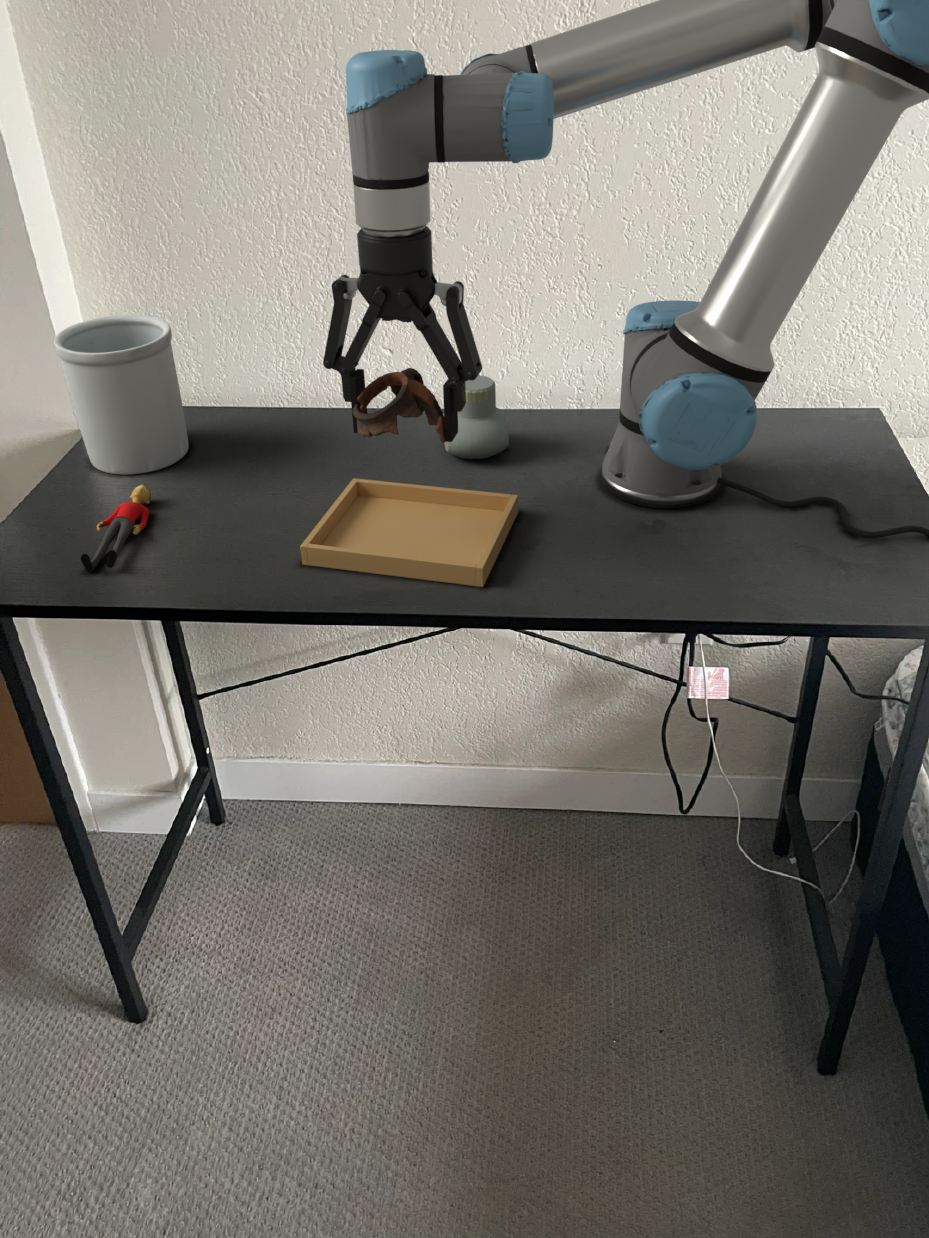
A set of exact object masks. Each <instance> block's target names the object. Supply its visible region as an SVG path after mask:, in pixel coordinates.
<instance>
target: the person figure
mask: <svg viewBox="0 0 929 1238" xmlns="http://www.w3.org/2000/svg"><path fill="white" fill-rule="evenodd" d="M151 497H152V493H151V490H150V487H148V486H147V485H145V484H140V485H138V486H136V487H135V488H134V489H133V490H132V492H131V494H130V496H129V498H130V499H131V501H126V502H123V503H120V504H119V505H118V506H117V507H116V508H115V510H113V512H112V514H110V515H109V517H107V518H106V519H104V520H101V521H99V522H98V523H97V525H96V530H97V531H98V532H100V531H101V529H100V528H104V527H107V526H108V527H107V529H106V530H105V533H104V534H103V538H102V540H101V541H100V544H99V546H98V548H97V549H96V552H95V553H94V555H93V557H92V558H90V555H88V554H87V553H82V554H81V556H80V562H81V564H82V566H83V567H84V570H85V571H86V572H87V573H89V574H90V573H93V572H94V571H95V569H96V568H97V566H98V565H99V563H100V562H101V560H102V559H103V557H104V556H105V555H106V553H107V562H106V567H107V568H109V569H112V568H113V567H114V566H115V563H116V562H117V559H118V557H119V555H120V553H121V551H122V549H123V546H124V545H125V542H126V540H127V539H128V537H129V535H130V534H131V532H132V533H133V535H135V536H136V535H138V534H140V532H141V531H143V530H145V528H146V526H147V523H148V519H149V515H150V510H149V508H148V507H146V506H147V505H148V504H150V501H151ZM138 519H140V523H139V524H135V522H136V520H138ZM133 528H134V529H133ZM132 530H133V531H132ZM116 537H117V538H116ZM115 538H116V540H115V543H114V544H113V547H112V549H110V550H109V551H108V549H109V546H110V544H111V543H112V542H113V540H114V539H115ZM107 551H108V552H107Z"/></svg>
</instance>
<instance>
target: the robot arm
mask: <svg viewBox="0 0 929 1238" xmlns="http://www.w3.org/2000/svg"><path fill="white" fill-rule="evenodd" d="M783 47H788V48H790V49H791V50H793V51H794V52H795V53H803V52H805V51H808V50H812V49H815V52H816V58H817V61H818V65H819V66H818V73H817V76H816V78H815V80H814V81H813V83H812V84H811V87H810V89H809V91H808V93H807V95H806V97H805V98H804V101H803V103H802V105H801V106H800V109H799V111H798V112H797V114H796V116H795V118H794V120H793V122H792V124H791V126H790V128H789V130H788V132H787V134H786V136H785V138H784V140H783V141H782V143H781V144H780V145H781V146H780V147H779V149H778V151H777V153H776V154H775V157H774V158H773V161H772V163H771V164H770V167H769V169H768V170H767V172H766V174H765V176H764V178H763V180H762V182H761V184H760V186H759V188H758V190H757V191H756V193H755V196H754V198H753V199H752V201H751V203H750V205H749V207H748V209H747V211H746V213H745V215H744V217H743V219H742V221H741V223H740V224H739V227H738V228H737V230H736V232H735V234H734V236H733V238H732V240H731V242H730V244H729V245H728V247H727V250H726V252H725V254H724V256H722V257H723V258H722V260H721V261H720V263H719V265H718V267H717V269H716V270H715V273H714V275H713V276H712V279H711V281H709V284H708V286H707V288H706V290H705V292H704V293H703V296H702V298H701V300H700V301H695V300H681V299H679V300H674V299H673V300H656V301H655V300H654V301H647V302H643V303H639V304H637V305H634V306H633V307H631V308H630V309H629V310H628V311H627V314H626V318H625V324H624V329H623V331H622V334H623V335H624V338H623V339H624V340H623V357H622V369H621V371H622V372H621V385H620V386H621V387H620V399H619V416H618V417H619V418H618V424H617V427H616V430H615V432H614V435H613V437H612V439H611V441H610V444H608V445H607V446H606V448H605V451H604V455H605V456H604V459H603V462H602V464H601V475H600V476H601V477H600V479H601V480H600V481H601V484H602V486H603V488H604V489H605V490H606V491H607V492H608V493H610V494H611V495H612V496H613V497H615V498H617V499H620V500H621V501H624V502H626V503H629V504H633V505H637V506H641V507H646V508H655V509H680V508H687V507H691V506H696V505H699V504H702V503H705V502H707V501H709V500H710V499H711V498H713V497H715V496H716V495H717V493H718V492H719V490H720V488H721V485H723V486H725V487H728V488H731V489H734V490H737V491H739V492H743V493H745V494H748V495H751V496H753V497H755V498H758V499H759V500H761V501H764V502H766V503H769V504H771V505H774V506H778V507H782V508H783V507H784V508H798V507H803V506H804V507H805V506H807V505H812V504H817V503H823V504H828V505H831V506H833V507H835V508H836V509H838V511H839V515H840V521H841V524H842V526H843V528H844V529H846V531H847V532H848V533H850V534H852V535H854V536H856V537H860V538H866V539H879V538H886V537H891V536H896V535H900V534H907V533H919V534H920V535H921V534H922V535H924V536H925V537H927V538H928V539H929V528H927V527H923V526H921V525H904V526H898V527H894V528H890V529H889V528H888V529H884V530H877V531H876V530H875V531H870V530H869V531H868V530H863V529H859V528H857V527H855V526H853V525H852V524H851V523H850V521H849V518H848V512H847V509H846V507H845V506H844V505H845V504H843V503H842V502H841V501H839V500H837V499H835V498H832V497H829V496H821V495H820V496H812V497H806V498H803V499H799V500H782V499H778V498H775V497H772V496H770V495H768V494H765V493H763V492H761V491H759V490H757V489H754V488H751V487H748V486H746V485H743V484H740V483H739V482H734V481H732V480H730V479H729V480H728V479H726V478H723V477H722V475H723V472H722V465H723V464H725V463H727V462H729V461H731V460H732V459H734V458H736V456H738V455H739V454H740V453H741V452H742V451H743V450H744V449H745V448H746V447H747V445H748V444H749V442H750V440H751V439H752V437H753V436H754V432H755V429H756V426H757V416H758V407H757V404H756V399H757V397H758V396H759V394H760V393H761V391H762V389H763V387H764V386H765V384H766V382H767V381H768V379H769V377H770V375H771V373H772V371H773V370H774V368H775V361H774V357H773V352H772V351H771V346H772V345H771V344H772V342H773V340H774V339H775V337H776V335H777V333H778V332H779V330H780V328H781V326H782V325H783V323H784V321H785V319H786V318H787V316H788V314H789V312H790V310H791V309H792V307H793V305H794V303H795V302H796V300H797V298H798V297H799V295H800V293H801V291H802V290H803V288H804V286H805V284H806V282H807V281H808V278H809V277H810V275H811V274H812V272H813V270H814V269H815V268H816V265H817V263H818V261H819V260H820V258H821V256H822V254H823V252H825V249H826V247H827V246H828V244H829V242H830V241H831V239H832V238H833V235H834V233H835V231H836V230H837V228H838V226H839V224H840V223H841V221H842V219H843V218H844V215H846V213H847V211H848V209H849V207H850V205H851V203H852V202H853V200H854V198H855V197H856V195H857V193H858V192H859V189H860V188H861V186H862V184H863V182H864V181H865V180H866V177H867V176H868V174H869V172H870V170H871V168H872V167H873V165H874V163H875V162H876V161H877V160H876V159H877V158H878V156H879V154H880V152H881V151H882V149H883V148H884V145H886V142H887V141H888V138H889V137H890V135H891V134H892V132H893V130H894V128H895V127H896V125H897V122H899V119H900V118H901V115H902V114H903V113H904V112H905V111H906V110H907V109H908V108H912V107H914V106H916V105H919V104H921V103H923V102H925V101H928V100H929V0H656V1H652V2H650V3H646V4H644V5H640V6H638V7H635V8H631V9H628V10H626V11H623V12H620V13H617V14H614V15H611V16H608V17H605V18H602V19H598V20H596V21H593V22H590V23H587V24H584V25H581V26H579V27H575V28H572V29H570V30H566V31H563V32H560V33H557V34H554V35H551V36H548V37H545V38H542V39H539V40H537V41H533V42H531V43H530V44H526V45H523V46H519V47H517V48H513V49H510V50H507V51H504V52H501V53H491V52H490V53H486V54H482V55H480V56H478V57H476V58H474V59H472V60H471V61H470V62H469V63H468V64H467V65H465V66H464V68H463V69H462V71H461V73H460V74H449V75H447V74H446V75H443V74H435V73H433V74H432V73H428V68H427V67H426V61H425V57H424V55H423V54H422V53H421V52H419V51H416V50H409V49H408V50H407V49H404V50H400V49H380V50H378V49H377V50H370V51H369V50H368V51H362V52H358V53H356V54H354V55H352V56H351V57H350V58H349V60H348V61H347V63H346V65H345V88H346V89H345V90H346V108H345V112H346V118H347V129H348V130H347V131H348V139H349V140H348V141H349V142H348V143H349V150H350V151H349V152H350V163H351V172H352V185H353V187H352V189H353V201H354V217H355V224H356V225H357V226H358V227H359V228H360V229H359V230H358V232H357V233H356V239H357V241H356V242H357V253H358V254H357V255H358V265H359V272H360V273H359V276H358V277H350V276H349V275H348V274H342V275H340V276H339V277H338V278H336V279H335V280H334V281H333V282H332V283H331V292H332V298H333V306H332V312H331V318H330V321H329V322H330V323H329V328H328V333H327V339H326V344H325V349H324V355H323V360H322V365H323V367H324V368H325V369H327V370H331V369H333V370H334V371H336V372H338V373H339V374H340V377H341V388H342V390H341V391H342V398H343V400H344V402H345V403H350V404H351V406H350V407H351V417H352V428H353V429H352V430H353V434H359V433H358V431H357V430H358V428H357V418H355V416H354V415H353V412H352V410H353V408H354V407H355V405H356V404H358V405H359V406H361V404H360V403H359V402H358V401H357V397H358V396H359V394H360V393H361V392H362V391H363V390H364V389H365V388H366V379H365V378H366V377H365V369H364V368H356V367H357V366H359V364H360V363H359V362H360V360H361V358H362V356H363V354H364V352H365V350H366V348H367V346H368V344H369V342H370V340H371V339H372V336H373V334H374V332H375V330H376V328H377V326H378V324H379V322H380V321H383V322H392V321H398V322H402V323H408V324H409V323H411V322H412V324H413V325H414V327H415V328H416V329H417V331H419V332H420V333H421V335H422V336H423V338H424V340H425V342H426V343H427V345H428V346H429V348H430V350H431V351H432V354H433V355H434V357H435V359H436V360H437V362H438V364H439V366H440V368H441V369H442V370H443V372H444V374H445V375H446V377H447V378H448V379H447V380H445V382H444V383H443V385H442V394H443V414H444V425H445V442H452V441H453V439H454V438H455V436H456V435H457V433H458V412H461V411H462V409H463V408H464V406H465V404H466V385H465V382H466V381H468V380H470V381H473V380H475V379H476V378H477V376H478V375H480V373H481V372H482V371H483V364H482V360H481V357H480V355H479V350H478V348H477V344H476V340H475V337H474V334H473V330H472V328H471V324H470V320H469V318H468V314H467V310H466V308H465V305H464V299H465V298H464V296H465V285H464V283H463V282H462V281H459V280H457V281H455V282H453V283H446V282H440V281H439V282H438V280H437V279H436V276H435V273H434V267H433V265H434V263H433V262H434V261H433V237H432V234H433V233H432V229H430V227H428V226H427V225H428V224H430V222H431V220H432V219H431V218H432V217H431V194H430V193H431V189H430V188H431V187H430V185H431V184H430V171H429V170H430V163H438V164H439V163H440V164H442V163H443V164H445V163H487V162H488V163H492V162H493V163H495V162H496V163H499V162H501V163H502V162H503V163H506V162H507V163H510V162H512V164H519V163H521V162H526V161H539V160H543V159H546V158H547V157H548V156H549V155H550V153H551V151H552V149H553V148H552V147H553V138H554V120H555V119H558V118H561V117H564V116H568V115H572V114H574V113H577V112H581V111H583V110H587V109H590V108H593V107H596V106H599V105H602V104H606V103H609V102H612V101H615V100H618V99H621V98H624V97H627V96H631V95H633V94H634V95H635V94H637V93H640V92H643V91H646V90H651V89H653V88H656V87H659V86H663V85H665V84H668V83H673V82H675V81H679V80H681V79H685V78H689V77H691V76H695V75H697V74H700V73H703V72H707V71H710V70H713V69H717V68H720V67H722V66H726V65H729V64H732V63H734V62H738V61H741V60H744V59H745V60H746V59H747V58H751V57H754V56H758V55H761V54H763V53H766V52H770V51H773V50H777V49H779V48H783ZM357 291H358V292H359V293H360V295H361V296H362V297H363V299H364V300H365V302H366V303H367V304H368V307H367V309H366V311H365V313H364V315H363V317H362V319H361V323H360V325H359V327H358V329H357V331H356V333H355V335H354V337H353V339H352V342H351V344H350V345H349V348H348V349H347V352H346V354H345V355H343V351H344V346H345V342H346V341H345V340H346V336H347V330H348V326H349V321H350V315H351V311H352V306H353V299H354V298H355V297H356V295H357ZM435 296H437V297H438V298H439V300H440V303H441V305H442V306H444V307H445V311H446V317H447V320H448V324H449V326H450V330H451V332H452V336H453V338H454V342H455V346H456V349H457V352H458V353H457V352H456V350H455V348H454V347H453V345H452V343H451V341H450V340H449V338H448V336H447V335H446V333H445V331H444V329H443V328H442V326H441V324H440V323H439V321H438V319H437V314H436V312H435V310H434V308H433V307H432V305H431V303H430V302H431V301H432V299H433V298H434V297H435ZM364 414H368V406H367V407H366V409H365V411H364ZM890 772H891V766H889V767H888V770H887V773H886V776H885V780H884V782H883V783H884V784H883V787H882V790H881V796H880V798H879V801H878V802H879V803H878V806H877V811H879V812H882V811H881V809H882V806H883V798H884V795H885V791H886V787H887V784H888V780H889V774H890Z"/></svg>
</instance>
